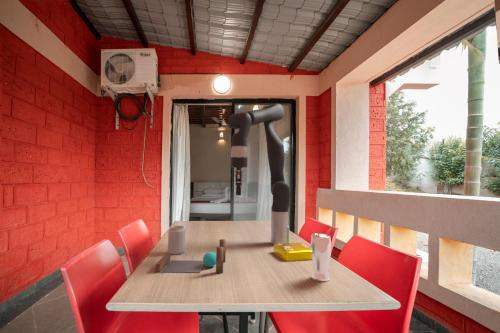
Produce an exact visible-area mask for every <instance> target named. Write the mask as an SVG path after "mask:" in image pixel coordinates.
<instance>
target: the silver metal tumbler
mask: <svg viewBox="0 0 500 333" xmlns="http://www.w3.org/2000/svg"><path fill="white" fill-rule="evenodd" d="M310 237H311V238H310V248H311V256H312V260H311V261H312V272H311V279H312V280H315V281H316V282H328V281H330V274H329V265H330V260H331V256H332V255H331V253H332V241H331V235H330V234H327V233H312V234H311V236H310Z"/></svg>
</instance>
